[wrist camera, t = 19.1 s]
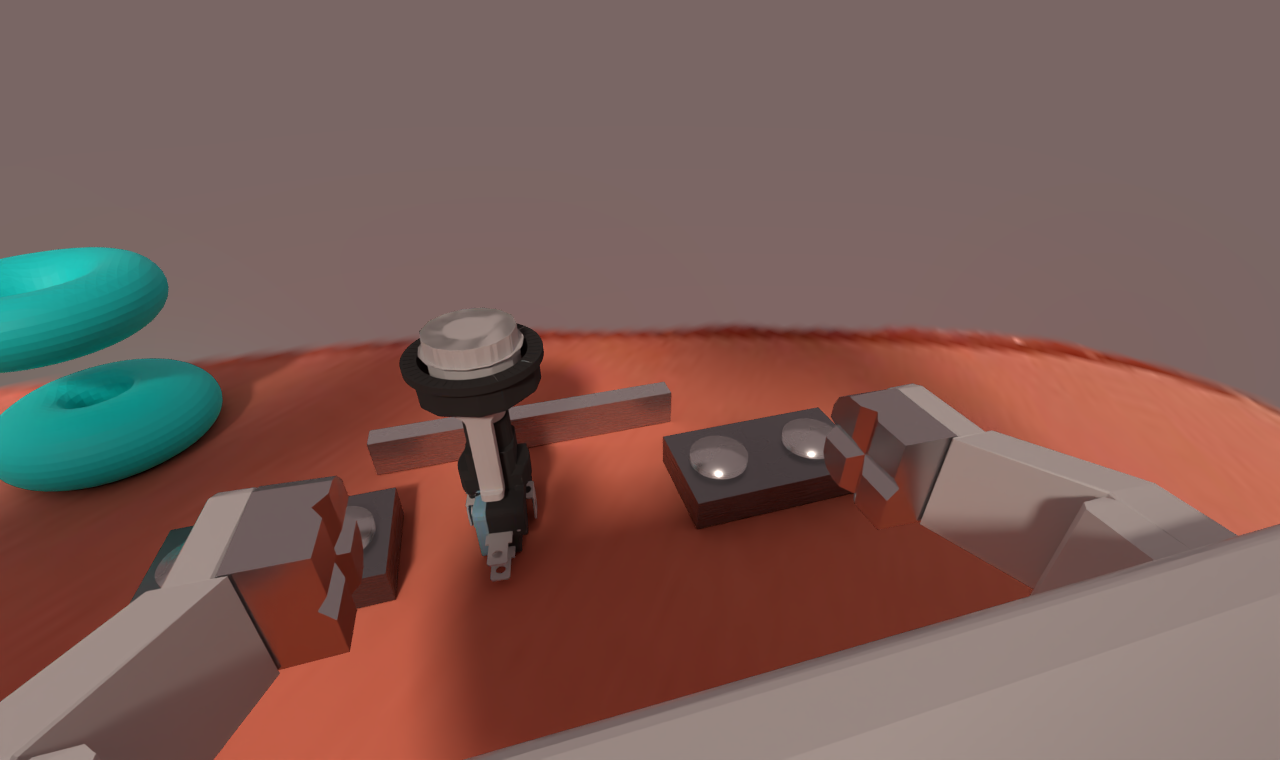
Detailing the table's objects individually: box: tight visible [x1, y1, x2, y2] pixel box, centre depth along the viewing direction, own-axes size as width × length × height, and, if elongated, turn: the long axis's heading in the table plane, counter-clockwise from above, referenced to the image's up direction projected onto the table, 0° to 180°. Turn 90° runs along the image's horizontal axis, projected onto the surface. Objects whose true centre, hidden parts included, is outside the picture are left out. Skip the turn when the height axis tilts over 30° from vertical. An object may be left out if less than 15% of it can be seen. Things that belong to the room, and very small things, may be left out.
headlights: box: [130, 382, 852, 609], centre depth 27 cm, size 31×9×2 cm, turn 106°
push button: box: [399, 308, 544, 581], centre depth 23 cm, size 7×5×10 cm
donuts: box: [0, 247, 223, 492], centre depth 29 cm, size 10×10×10 cm
